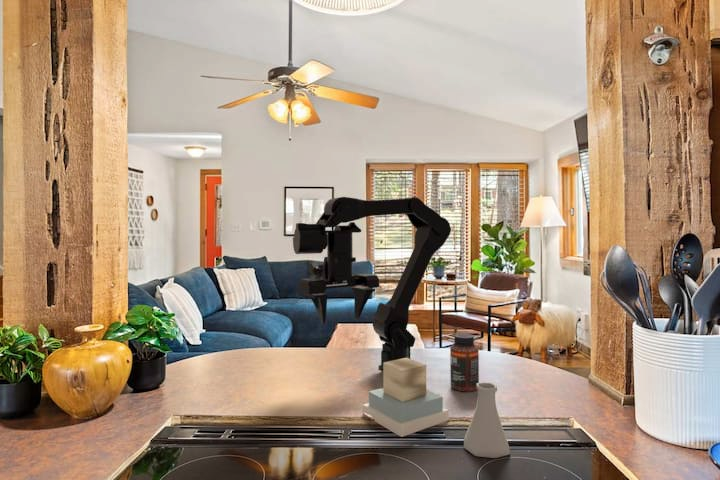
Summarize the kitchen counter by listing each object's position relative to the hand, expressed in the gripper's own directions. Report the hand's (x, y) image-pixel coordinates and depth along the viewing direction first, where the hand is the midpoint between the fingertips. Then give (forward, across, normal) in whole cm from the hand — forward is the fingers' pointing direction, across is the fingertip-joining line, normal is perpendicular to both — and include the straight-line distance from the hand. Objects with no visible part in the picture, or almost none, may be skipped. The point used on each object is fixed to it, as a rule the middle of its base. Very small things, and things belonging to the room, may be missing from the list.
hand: (340, 321), depth 104 cm
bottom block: (+14, +2, +25) cm, 28 cm away
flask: (+13, -1, +41) cm, 43 cm away
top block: (+11, +2, +25) cm, 28 cm away
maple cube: (+9, +2, +25) cm, 27 cm away
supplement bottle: (+13, -18, +21) cm, 31 cm away
